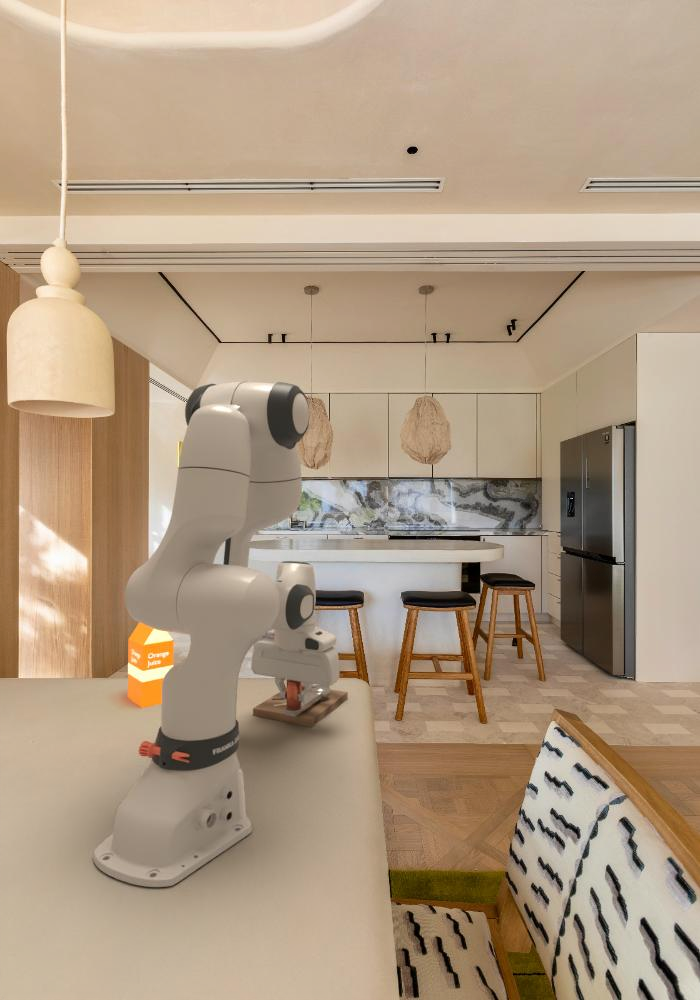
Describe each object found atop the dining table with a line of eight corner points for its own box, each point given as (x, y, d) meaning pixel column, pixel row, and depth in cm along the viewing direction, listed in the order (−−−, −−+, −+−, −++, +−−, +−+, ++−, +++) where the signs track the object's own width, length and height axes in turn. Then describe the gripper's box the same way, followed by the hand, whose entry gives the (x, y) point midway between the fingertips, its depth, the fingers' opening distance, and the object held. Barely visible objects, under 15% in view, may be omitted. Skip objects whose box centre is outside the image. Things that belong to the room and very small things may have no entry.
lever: (299, 719, 118) (299, 683, 118) (277, 715, 121) (277, 680, 121) (332, 694, 134) (333, 663, 134) (312, 691, 136) (313, 660, 136)
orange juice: (141, 708, 129) (142, 621, 129) (127, 697, 136) (128, 615, 136) (173, 700, 135) (174, 617, 135) (158, 690, 141) (159, 611, 141)
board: (312, 727, 120) (312, 701, 120) (252, 715, 126) (253, 690, 126) (347, 698, 138) (347, 675, 138) (294, 689, 144) (294, 667, 144)
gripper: (246, 633, 122) (245, 696, 122) (330, 644, 114) (329, 712, 114) (261, 627, 128) (260, 688, 128) (343, 637, 120) (342, 702, 120)
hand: (293, 699), depth 121 cm, fingers open, 3 cm apart
